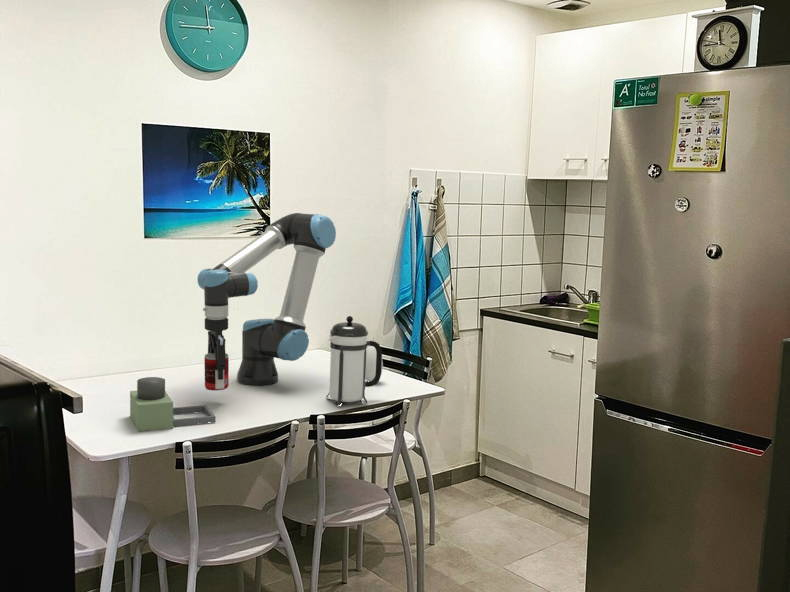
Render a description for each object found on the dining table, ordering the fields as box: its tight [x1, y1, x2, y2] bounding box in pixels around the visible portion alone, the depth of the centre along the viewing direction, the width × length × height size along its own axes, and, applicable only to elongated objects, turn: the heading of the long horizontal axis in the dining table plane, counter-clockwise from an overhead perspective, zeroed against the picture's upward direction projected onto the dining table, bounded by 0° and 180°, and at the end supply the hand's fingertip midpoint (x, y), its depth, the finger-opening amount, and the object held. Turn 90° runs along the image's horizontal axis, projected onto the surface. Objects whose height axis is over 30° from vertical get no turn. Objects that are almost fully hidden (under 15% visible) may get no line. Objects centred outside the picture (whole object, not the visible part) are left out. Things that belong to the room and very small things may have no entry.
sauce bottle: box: [365, 336, 384, 382], centre depth 291 cm, size 8×8×18 cm
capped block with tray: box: [129, 376, 217, 432], centre depth 236 cm, size 23×16×13 cm
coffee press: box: [325, 315, 383, 406], centre depth 264 cm, size 17×16×30 cm
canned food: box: [204, 352, 230, 391], centre depth 254 cm, size 8×8×11 cm
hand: (216, 385), depth 255 cm, fingers closed on canned food, 8 cm apart
